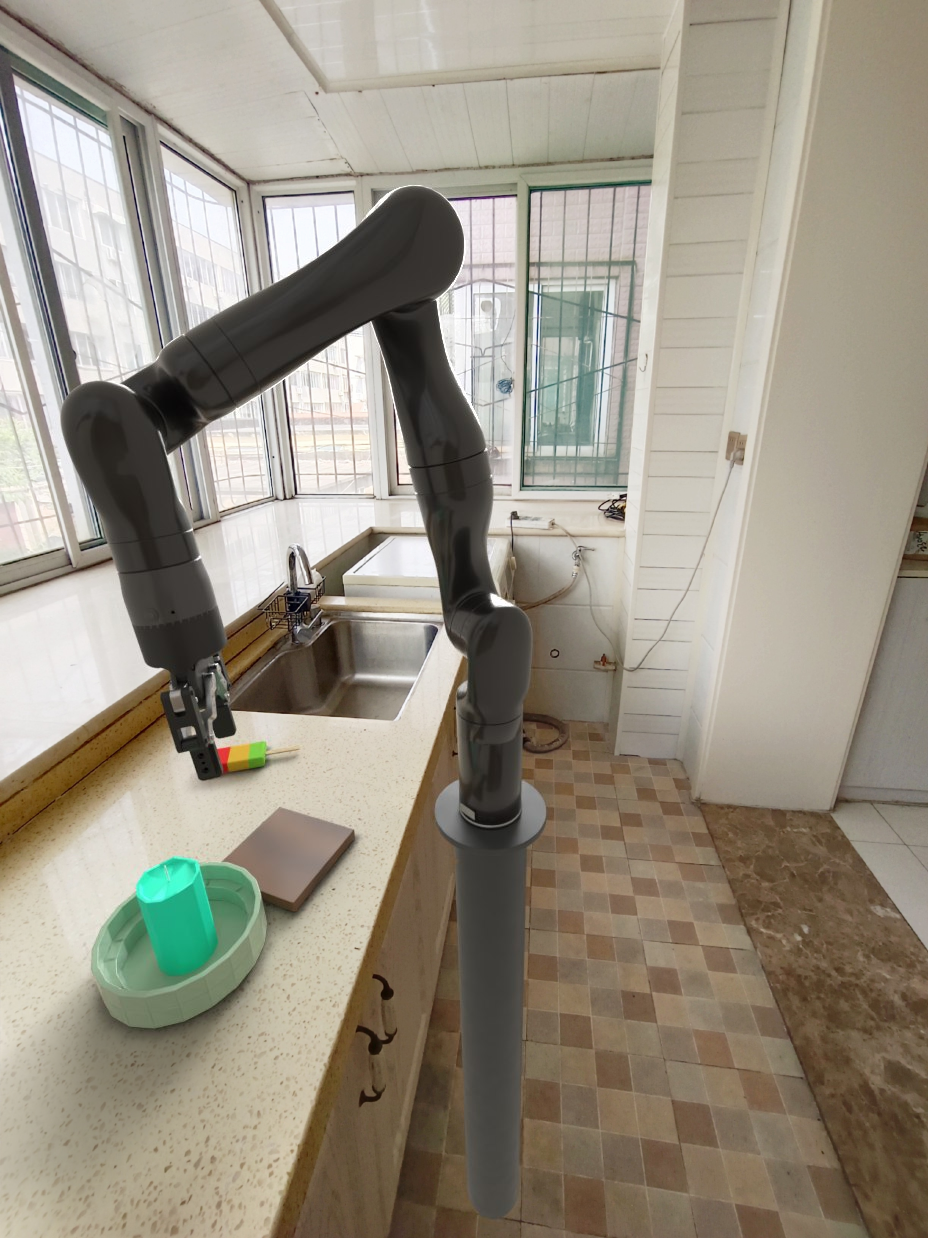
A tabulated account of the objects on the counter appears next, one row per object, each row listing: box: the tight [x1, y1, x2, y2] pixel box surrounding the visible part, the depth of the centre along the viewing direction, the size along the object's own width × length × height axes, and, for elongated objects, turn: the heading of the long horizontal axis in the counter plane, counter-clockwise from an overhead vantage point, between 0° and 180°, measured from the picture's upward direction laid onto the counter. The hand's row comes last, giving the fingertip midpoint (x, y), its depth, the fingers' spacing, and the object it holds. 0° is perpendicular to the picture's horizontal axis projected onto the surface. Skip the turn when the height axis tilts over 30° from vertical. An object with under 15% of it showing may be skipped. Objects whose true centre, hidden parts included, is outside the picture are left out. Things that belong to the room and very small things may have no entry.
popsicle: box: [217, 740, 301, 774], centre depth 93 cm, size 6×15×2 cm, turn 105°
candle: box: [135, 855, 218, 975], centre depth 57 cm, size 6×6×12 cm
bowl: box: [90, 861, 268, 1029], centre depth 59 cm, size 16×16×5 cm
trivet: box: [221, 806, 356, 913], centre depth 72 cm, size 13×13×2 cm
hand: (220, 755), depth 57 cm, fingers open, 8 cm apart
